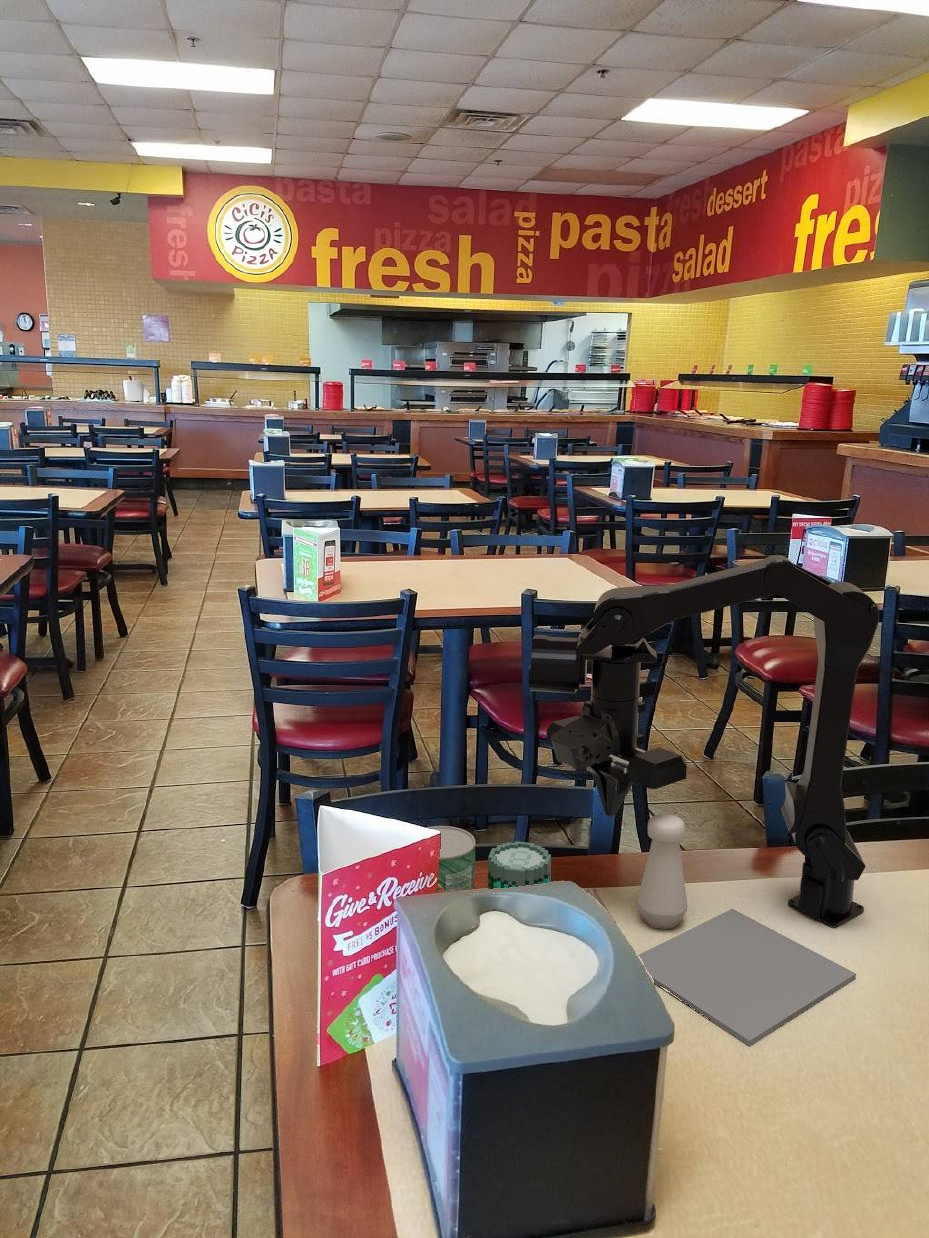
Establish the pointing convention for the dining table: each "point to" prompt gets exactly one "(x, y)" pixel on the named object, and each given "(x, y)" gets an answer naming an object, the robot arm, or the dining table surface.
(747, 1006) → the mat
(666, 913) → the salt shaker
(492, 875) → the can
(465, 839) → the canned tomato
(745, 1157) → the dining table surface
